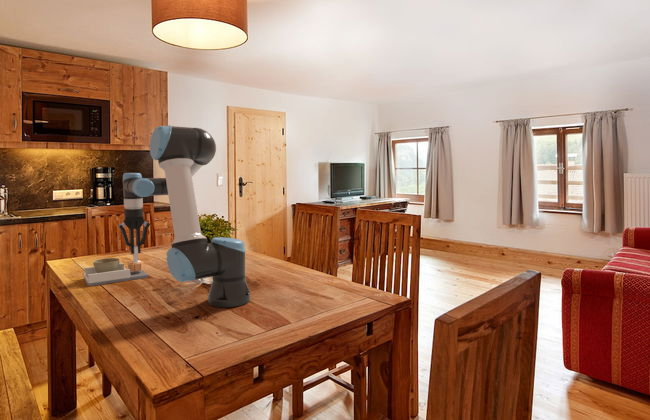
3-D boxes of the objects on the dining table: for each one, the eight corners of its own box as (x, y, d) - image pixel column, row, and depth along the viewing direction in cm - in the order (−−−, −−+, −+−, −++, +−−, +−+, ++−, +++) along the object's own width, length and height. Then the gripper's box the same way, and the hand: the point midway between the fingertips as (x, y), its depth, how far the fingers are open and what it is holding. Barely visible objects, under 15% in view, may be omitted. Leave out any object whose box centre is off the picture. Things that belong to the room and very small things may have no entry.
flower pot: (124, 273, 180) (123, 257, 179) (112, 280, 170) (111, 263, 169) (102, 273, 180) (101, 257, 179) (88, 279, 170) (87, 263, 169)
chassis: (148, 277, 178) (147, 267, 178) (88, 286, 164) (87, 275, 164) (140, 270, 189) (140, 260, 189) (83, 278, 176) (83, 267, 175)
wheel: (145, 269, 181) (144, 261, 180) (130, 272, 177) (130, 263, 177) (142, 267, 186) (141, 259, 185) (127, 269, 182) (127, 260, 182)
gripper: (147, 206, 185) (149, 257, 188) (115, 208, 178) (118, 260, 180) (151, 208, 179) (153, 260, 182) (118, 209, 172) (121, 264, 174)
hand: (135, 260), depth 181 cm, fingers closed
